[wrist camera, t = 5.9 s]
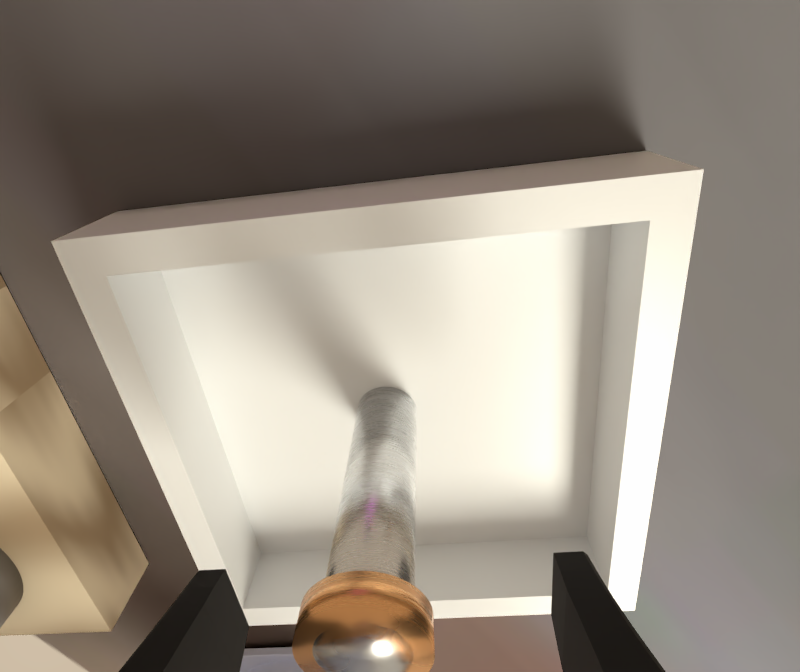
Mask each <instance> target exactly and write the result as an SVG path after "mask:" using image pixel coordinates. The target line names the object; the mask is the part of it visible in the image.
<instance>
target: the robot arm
mask: <svg viewBox="0 0 800 672" xmlns="http://www.w3.org/2000/svg"><path fill="white" fill-rule="evenodd" d="M551 616H552V621H553V626H554V631H555V636H556V641H557V646H558V651H559V655H560V660H561V665H562V669H563V672H665V670H664V669H663V668H662V666H661V665H660V664H659V662H658V661H657V659H656V658H655V657H654V655H653V654H652V653H651V651H650V650H649V648H648V647H647V646H646V644H645V643H644V641H643V640H642V639H641V637H640V636H639V635H638V633H637V632H636V630H635V629H634V627H633V626H632V625H631V623H630V622H629V620H628V619H627V617H626V616H625V614H624V613H623V611H622V610H621V608H620V607H619V605H618V604H617V602H616V601H615V599H614V598H613V596H612V594H611V593H610V591H609V590H608V588H607V587H606V585H605V583H604V582H603V580H602V579H601V577H600V575H599V574H598V572H597V570H596V568H595V567H594V565H593V563H592V562H591V560H590V558H589V556H588V555H587V554H586V553H585V552H583V551H578V552H557V553H553V576H552V604H551ZM248 628H249V625H248V622H247V620H246V617H245V615H244V613H243V610H242V608H241V605H240V603H239V600H238V598H237V596H236V593H235V591H234V588H233V586H232V583H231V581H230V579H229V576H228V574H227V571H226V569H215V570H199V572H198V573H197V574H196V575H195V576H194V577H193V579H192V580H191V581H190V582H189V584H188V585H187V586H186V588H185V589H184V590H183V591H182V593H181V594H180V595H179V597H178V598H177V599H176V600H175V602H174V603H173V604H172V606H171V607H170V608H169V609H168V611H167V612H166V613H165V615H164V616H163V617H162V618H161V620H160V621H159V622H158V623H157V625H156V626H155V627H154V629H153V630H152V631H151V632H150V634H149V635H148V636H147V637H146V639H145V640H144V641H143V642H142V644H141V645H140V646H139V647H138V648H137V650H136V651H135V652H134V653H133V655H132V656H131V657H130V658H129V660H128V661H127V662H126V663H125V664H124V666H123V667H122V668H121V669H120V671H119V672H304V671H303V670H302V669H301V668H300V667H299V665H298V664H297V662H296V660H295V658H294V656H293V652H292V647H275V648H247V649H245V644H246V638H247V633H248Z"/></svg>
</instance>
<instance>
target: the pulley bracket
mask: <svg viewBox="0 0 800 672" xmlns="http://www.w3.org/2000/svg"><path fill="white" fill-rule="evenodd" d="M148 564H149V563H148V561H147V559H146V557H145V555H144V553H143V551H142V549H141V547H140V545H139V544H138V542H137V540H136V538H135V536H134V534H133V532H132V530H131V528H130V526H129V524H128V522H127V520H126V518H125V516H124V514H123V512H122V510H121V508H120V506H119V505H118V503H117V501H116V499H115V497H114V495H113V493H112V491H111V489H110V487H109V485H108V483H107V481H106V479H105V477H104V475H103V473H102V471H101V469H100V467H99V465H98V464H97V462H96V460H95V458H94V456H93V454H92V452H91V450H90V448H89V446H88V444H87V442H86V440H85V438H84V436H83V434H82V432H81V430H80V428H79V426H78V425H77V423H76V421H75V419H74V417H73V415H72V413H71V411H70V409H69V407H68V405H67V403H66V401H65V399H64V397H63V395H62V393H61V391H60V389H59V387H58V386H57V384H56V382H55V380H54V378H53V376H52V374H51V372H50V370H49V368H48V366H47V364H46V362H45V360H44V358H43V356H42V354H41V352H40V350H39V348H38V346H37V345H36V343H35V341H34V339H33V337H32V335H31V333H30V331H29V329H28V327H27V325H26V323H25V321H24V319H23V317H22V315H21V313H20V311H19V309H18V307H17V306H16V304H15V302H14V300H13V298H12V296H11V294H10V292H9V290H8V288H7V286H6V284H5V282H4V280H3V278H2V276H1V274H0V636H5V635H31V634H56V633H81V632H107V631H112V629H113V627H114V626H115V624H116V622H117V620H118V618H119V617H120V615H121V613H122V611H123V609H124V608H125V606H126V604H127V602H128V600H129V599H130V597H131V595H132V593H133V591H134V590H135V588H136V586H137V584H138V582H139V581H140V579H141V577H142V575H143V573H144V572H145V570H146V568H147V566H148Z"/></svg>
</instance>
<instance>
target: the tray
mask: <svg viewBox="0 0 800 672" xmlns="http://www.w3.org/2000/svg"><path fill="white" fill-rule="evenodd" d="M703 171H704V169H701V168H698V167H695V166H692V165H689V164H686V163H683V162H680V161H677V160H674V159H671V158H668V157H665V156H662V155H659V154H656V153H653V152H650V151H640V152H631V153H622V154H613V155H605V156H596V157H587V158H578V159H570V160H561V161H552V162H543V163H535V164H526V165H517V166H508V167H500V168H491V169H482V170H474V171H465V172H456V173H447V174H439V175H430V176H421V177H412V178H404V179H395V180H386V181H377V182H369V183H360V184H351V185H342V186H334V187H325V188H316V189H307V190H299V191H290V192H281V193H272V194H264V195H255V196H246V197H237V198H229V199H220V200H211V201H202V202H194V203H185V204H176V205H168V206H159V207H150V208H141V209H133V210H124V211H117V212H115V213H113V214H110V215H108V216H106V217H104V218H102V219H99V220H97V221H95V222H93V223H90V224H88V225H86V226H84V227H82V228H79V229H77V230H75V231H73V232H70V233H68V234H66V235H64V236H62V237H59V238H57V239H55V240H53V241H51V243H52V245H53V247H54V249H55V252H56V254H57V256H58V258H59V261H60V263H61V265H62V267H63V269H64V272H65V274H66V276H67V278H68V281H69V283H70V285H71V287H72V289H73V292H74V294H75V296H76V298H77V301H78V303H79V305H80V307H81V310H82V312H83V314H84V316H85V318H86V321H87V323H88V325H89V327H90V330H91V332H92V334H93V336H94V338H95V341H96V343H97V345H98V347H99V350H100V352H101V354H102V356H103V358H104V361H105V363H106V365H107V367H108V370H109V372H110V374H111V376H112V379H113V381H114V383H115V385H116V387H117V390H118V392H119V394H120V396H121V399H122V401H123V403H124V405H125V407H126V410H127V412H128V414H129V416H130V419H131V421H132V423H133V425H134V428H135V430H136V432H137V434H138V436H139V439H140V441H141V443H142V445H143V448H144V450H145V452H146V454H147V456H148V459H149V461H150V463H151V465H152V468H153V470H154V472H155V474H156V476H157V479H158V481H159V483H160V485H161V488H162V490H163V492H164V494H165V497H166V499H167V501H168V503H169V505H170V508H171V510H172V512H173V514H174V517H175V519H176V521H177V523H178V525H179V528H180V530H181V532H182V534H183V537H184V539H185V541H186V543H187V546H188V548H189V550H190V552H191V554H192V557H193V559H194V561H195V563H196V566H197V568H198V570H215V569H226V571H227V574H228V576H229V579H230V581H231V583H232V586H233V588H234V591H235V593H236V596H237V598H238V600H239V603H240V605H241V608H242V610H243V613H244V615H245V617H246V620H247V622H248V625H249V626H258V625H284V624H297V620H298V616H299V611H300V607H301V602H302V600H303V597H304V595H305V594H306V592H307V591H308V590H309V589H310V588H311V587H312V586H313V585H314V584H316V583H317V582H319V581H320V580H322V579H324V578H326V573H327V568H328V563H329V557H330V552H331V547H332V541H333V536H334V531H335V526H336V520H337V515H338V510H339V504H340V499H341V494H342V488H343V483H344V478H345V472H346V467H347V462H348V456H349V451H350V446H351V440H352V435H353V430H354V425H355V419H356V414H357V409H358V404H359V401H360V399H361V398H362V397H363V395H364V394H365V393H367V392H368V391H370V390H372V389H374V388H378V387H385V386H387V387H395V388H398V389H400V390H402V391H404V392H406V393H407V394H408V395H409V396H410V397H411V398H412V399H413V401H414V402H415V405H416V410H417V425H416V521H415V587H417V588H418V589H419V590H420V591H421V592H422V593H423V594H424V595H425V596H426V597H427V599H428V600H429V602H430V604H431V606H432V609H433V616H434V619H436V618H461V617H486V616H512V615H537V614H551V604H552V576H553V553H557V552H578V551H583V552H585V553H586V554H587V555H588V556H589V558H590V560H591V562H592V563H593V565H594V567H595V568H596V570H597V572H598V574H599V575H600V577H601V579H602V580H603V582H604V583H605V585H606V587H607V588H608V590H609V591H610V593H611V594H612V596H613V598H614V599H615V601H616V602H617V604H618V605H619V607H620V608H621V610H622V611H635V606H636V600H637V593H638V587H639V580H640V574H641V568H642V561H643V555H644V548H645V542H646V536H647V529H648V523H649V516H650V510H651V504H652V497H653V491H654V484H655V478H656V472H657V465H658V459H659V452H660V446H661V440H662V433H663V427H664V420H665V414H666V408H667V401H668V395H669V388H670V382H671V376H672V369H673V363H674V356H675V350H676V344H677V337H678V331H679V324H680V318H681V312H682V305H683V299H684V292H685V286H686V280H687V273H688V267H689V260H690V254H691V247H692V241H693V235H694V228H695V222H696V215H697V209H698V203H699V196H700V190H701V183H702V177H703Z"/></svg>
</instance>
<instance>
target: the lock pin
mask: <svg viewBox="0 0 800 672" xmlns="http://www.w3.org/2000/svg"><path fill="white" fill-rule="evenodd" d="M416 425H417V410H416V405H415V402H414V401H413V399H412V398H411V397H410V396H409V395H408V394H407V393H406V392H404V391H402V390H400V389H398V388H395V387H387V386H385V387H378V388H374V389H372V390H370V391H368V392H367V393H365V394H364V395H363V397H362V398H361V399H360V401H359V404H358V409H357V414H356V419H355V425H354V430H353V435H352V440H351V446H350V451H349V456H348V462H347V467H346V472H345V478H344V483H343V488H342V494H341V499H340V504H339V510H338V515H337V520H336V526H335V531H334V536H333V541H332V547H331V552H330V557H329V563H328V568H327V573H326V578H324V579H322V580H320V581H319V582H317V583H316V584H314V585H313V586H312V587H311V588H310V589H309V590H308V591H307V592H306V594H305V595H304V597H303V600H302V602H301V607H300V611H299V616H298V620H297V625H296V629H295V634H294V638H293V643H292V652H293V656H294V658H295V660H296V662H297V664H298V665H299V667H300V668H301V669H302V670H303V671H304V672H429V671H430V669H431V668H432V665H433V663H434V657H435V655H434V616H433V609H432V606H431V604H430V602H429V600H428V599H427V597H426V596H425V595H424V594H423V593H422V592H421V591H420V590H419V589H418V588H417V587H415V521H416Z"/></svg>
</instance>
